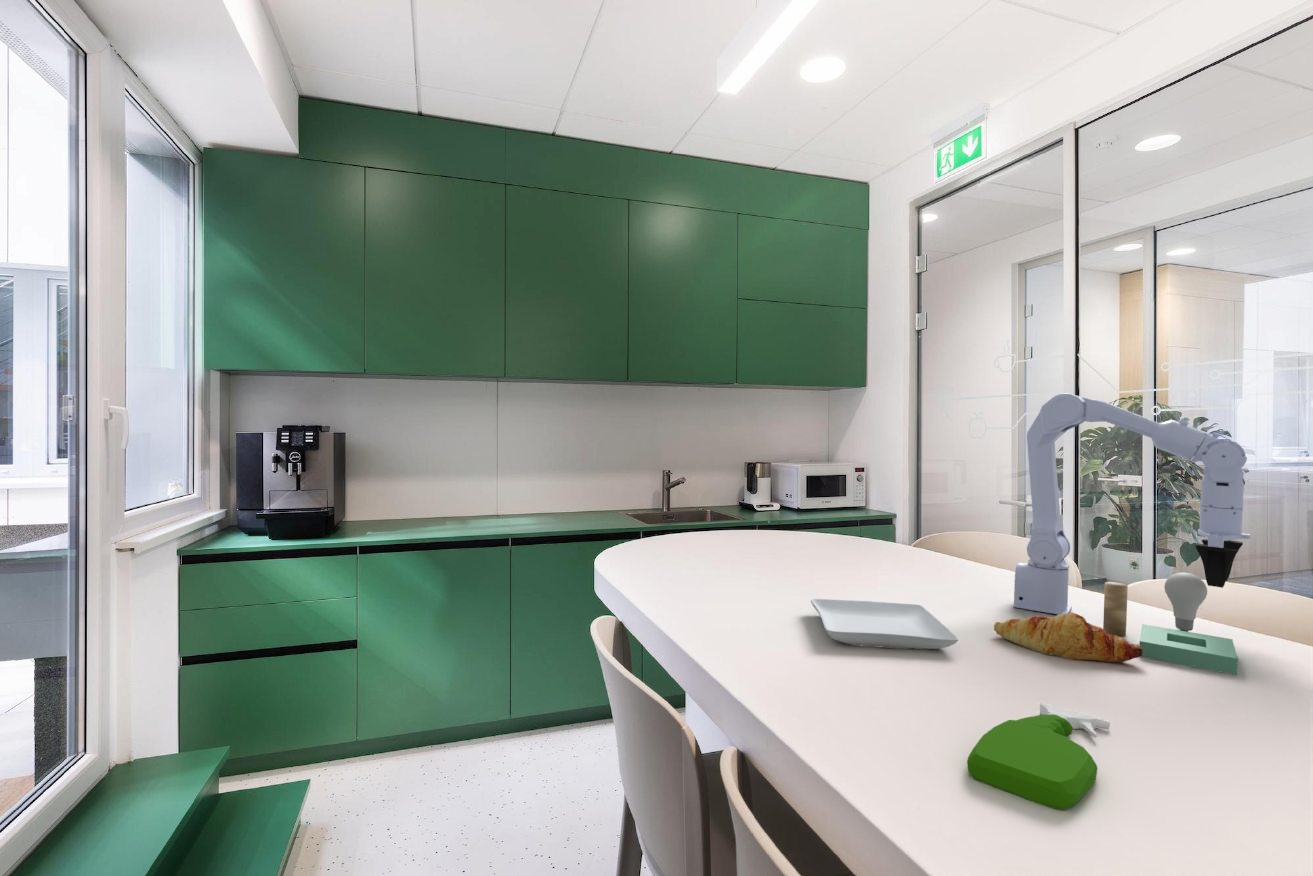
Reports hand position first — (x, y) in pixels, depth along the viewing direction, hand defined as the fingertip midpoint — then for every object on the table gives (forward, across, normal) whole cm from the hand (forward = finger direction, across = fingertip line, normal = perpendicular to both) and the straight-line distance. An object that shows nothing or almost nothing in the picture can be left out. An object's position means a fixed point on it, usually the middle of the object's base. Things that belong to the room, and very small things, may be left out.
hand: (1217, 582), depth 116 cm
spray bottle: (+11, -70, +9) cm, 71 cm away
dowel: (+10, -11, +13) cm, 20 cm away
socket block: (+10, -15, +2) cm, 19 cm away
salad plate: (+11, -43, +42) cm, 62 cm away
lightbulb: (+10, 0, +4) cm, 11 cm away
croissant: (+10, -28, +17) cm, 35 cm away
